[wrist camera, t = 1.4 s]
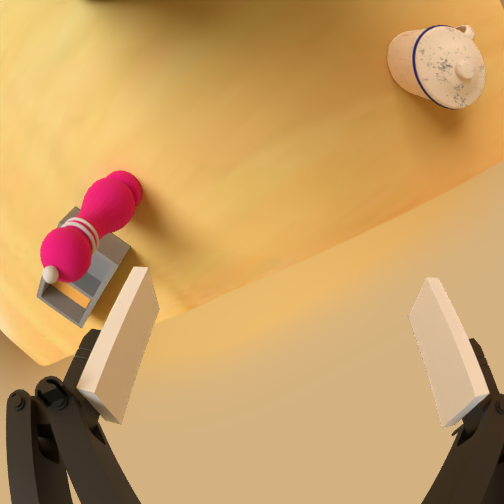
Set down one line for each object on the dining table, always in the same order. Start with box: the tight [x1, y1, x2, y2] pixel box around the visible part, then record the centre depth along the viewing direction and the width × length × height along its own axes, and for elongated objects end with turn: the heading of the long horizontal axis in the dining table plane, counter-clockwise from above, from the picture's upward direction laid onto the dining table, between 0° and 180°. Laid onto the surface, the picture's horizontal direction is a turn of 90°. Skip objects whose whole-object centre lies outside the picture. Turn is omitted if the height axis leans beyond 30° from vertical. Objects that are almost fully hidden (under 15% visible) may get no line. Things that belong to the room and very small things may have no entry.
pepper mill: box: [40, 171, 142, 284], centre depth 33 cm, size 7×7×20 cm
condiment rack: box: [37, 206, 131, 328], centre depth 48 cm, size 12×22×5 cm, turn 140°
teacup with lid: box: [387, 25, 485, 109], centre depth 22 cm, size 12×9×12 cm
